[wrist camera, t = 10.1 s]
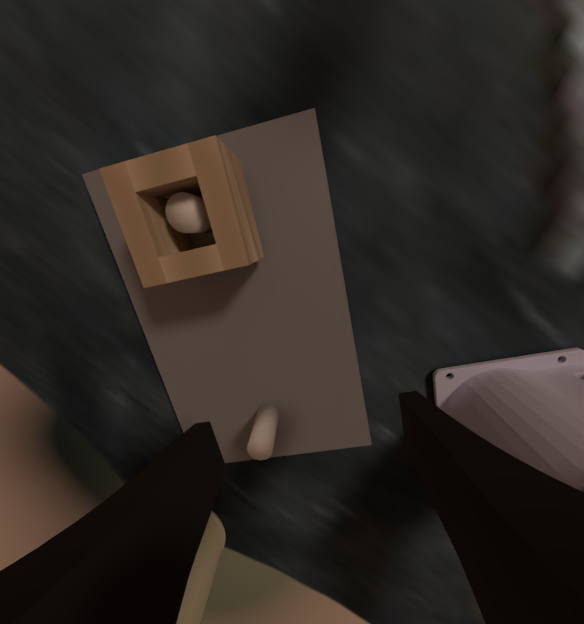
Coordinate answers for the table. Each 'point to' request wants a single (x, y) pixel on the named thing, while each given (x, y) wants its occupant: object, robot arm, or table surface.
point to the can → (202, 572)
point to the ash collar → (194, 180)
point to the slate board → (257, 308)
